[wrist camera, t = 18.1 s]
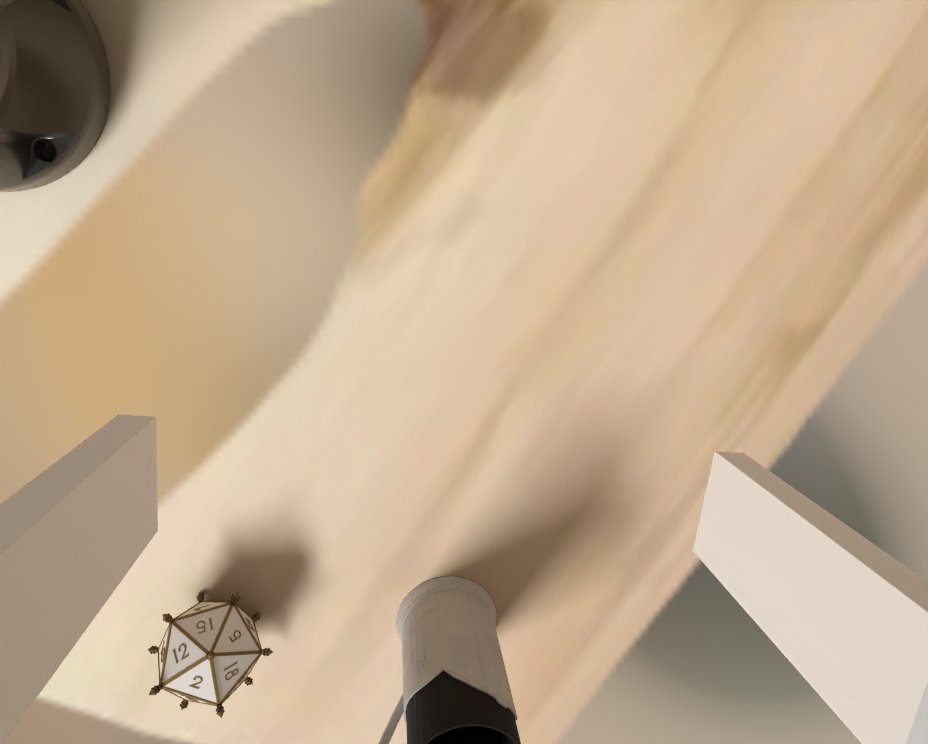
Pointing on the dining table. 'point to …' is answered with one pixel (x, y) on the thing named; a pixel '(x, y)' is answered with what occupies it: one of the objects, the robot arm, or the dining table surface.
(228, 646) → the game die
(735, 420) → the dining table surface
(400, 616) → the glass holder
